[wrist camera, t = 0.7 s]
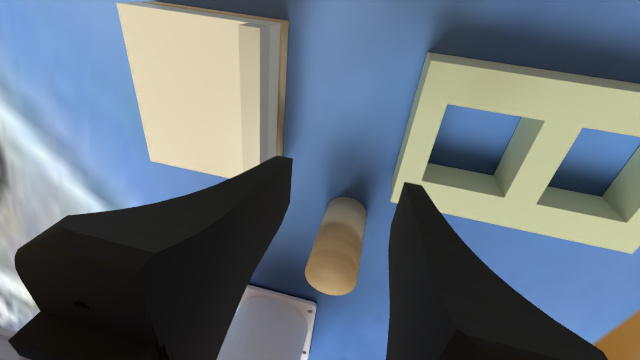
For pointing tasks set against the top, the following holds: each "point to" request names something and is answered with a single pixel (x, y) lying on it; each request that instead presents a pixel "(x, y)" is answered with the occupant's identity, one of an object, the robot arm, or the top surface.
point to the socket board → (526, 149)
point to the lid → (204, 86)
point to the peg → (337, 247)
